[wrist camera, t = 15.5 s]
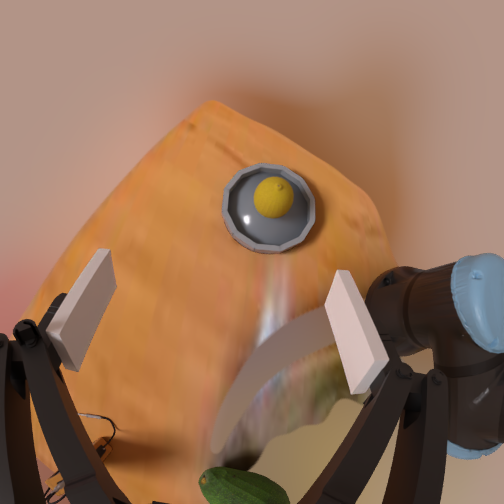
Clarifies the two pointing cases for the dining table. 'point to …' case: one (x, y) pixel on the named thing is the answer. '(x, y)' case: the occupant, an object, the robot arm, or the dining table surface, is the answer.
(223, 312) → the dining table surface
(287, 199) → the lemon
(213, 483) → the fruit
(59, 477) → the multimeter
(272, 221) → the grey round plate
